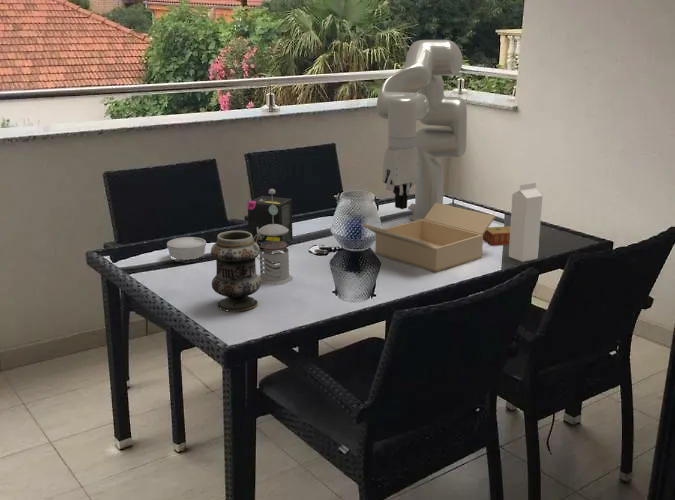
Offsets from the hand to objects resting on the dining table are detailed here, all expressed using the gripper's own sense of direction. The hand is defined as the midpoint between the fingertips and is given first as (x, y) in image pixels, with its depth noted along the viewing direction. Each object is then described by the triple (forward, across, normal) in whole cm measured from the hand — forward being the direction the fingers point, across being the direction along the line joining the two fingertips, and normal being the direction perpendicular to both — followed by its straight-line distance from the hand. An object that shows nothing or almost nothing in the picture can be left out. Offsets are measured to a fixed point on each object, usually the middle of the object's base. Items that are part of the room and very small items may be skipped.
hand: (401, 207), depth 211 cm
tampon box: (+17, +17, -39) cm, 46 cm away
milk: (+17, -30, +21) cm, 40 cm away
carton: (+18, -42, +8) cm, 46 cm away
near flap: (+8, +2, 0) cm, 8 cm away
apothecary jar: (+16, +53, -4) cm, 55 cm away
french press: (+16, +35, -14) cm, 41 cm away
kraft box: (+17, -11, +1) cm, 20 cm away
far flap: (+8, -24, 0) cm, 25 cm away
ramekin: (+17, +43, -45) cm, 65 cm away
